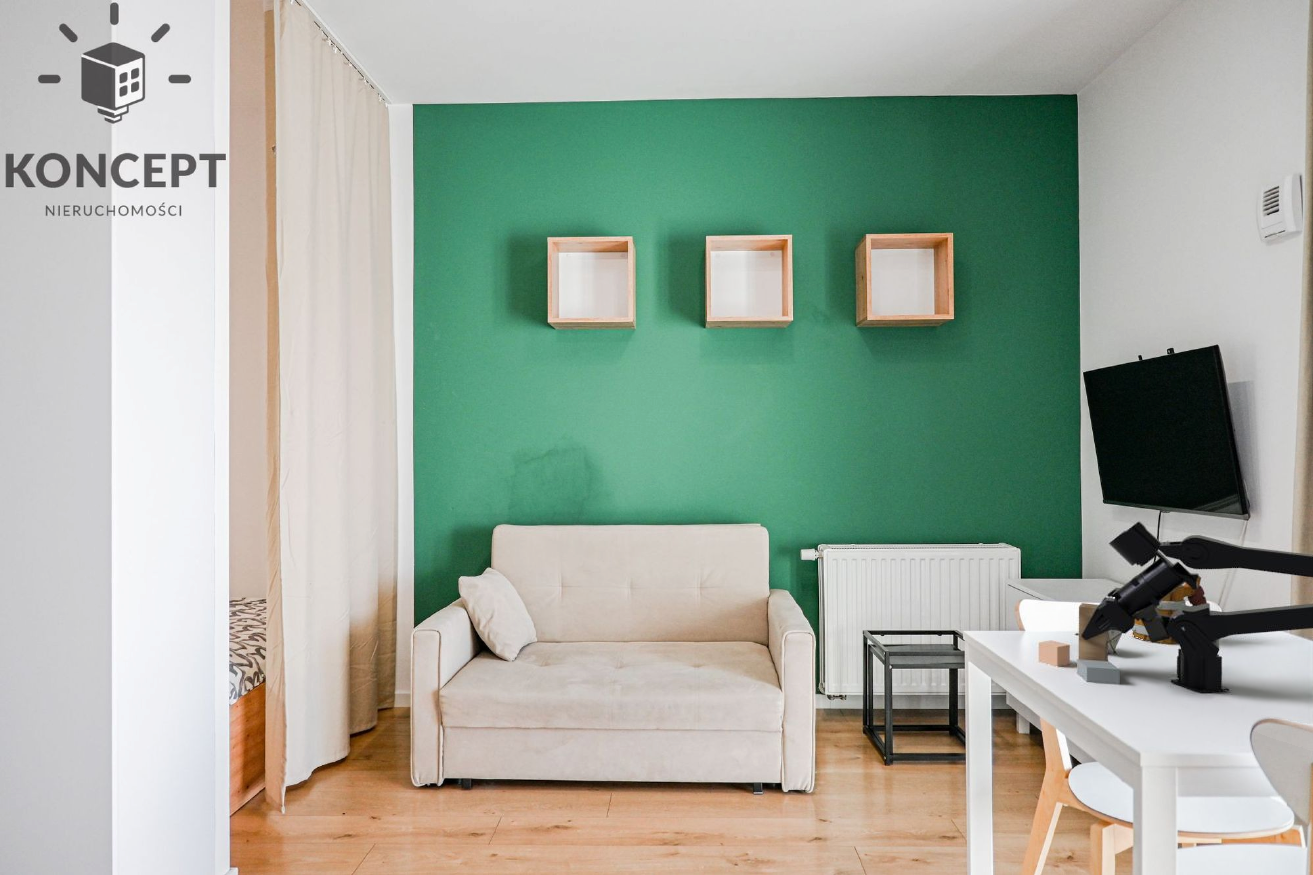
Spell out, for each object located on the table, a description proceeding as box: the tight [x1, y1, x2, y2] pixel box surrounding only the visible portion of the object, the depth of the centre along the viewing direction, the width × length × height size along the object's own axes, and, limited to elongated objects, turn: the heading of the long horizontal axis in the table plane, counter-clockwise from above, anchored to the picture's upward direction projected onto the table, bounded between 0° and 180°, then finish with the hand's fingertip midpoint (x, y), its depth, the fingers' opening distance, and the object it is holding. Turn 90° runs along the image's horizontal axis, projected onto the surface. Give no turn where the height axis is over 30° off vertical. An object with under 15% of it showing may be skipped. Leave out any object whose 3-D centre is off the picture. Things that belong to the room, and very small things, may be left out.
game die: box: [1074, 630, 1124, 655], centre depth 167 cm, size 9×8×10 cm
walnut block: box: [1078, 602, 1109, 661], centre depth 153 cm, size 4×4×12 cm
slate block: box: [1076, 658, 1121, 685], centre depth 147 cm, size 6×6×3 cm
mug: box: [1131, 575, 1208, 645], centre depth 180 cm, size 11×16×15 cm, turn 88°
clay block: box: [1038, 640, 1071, 667], centre depth 158 cm, size 4×4×4 cm
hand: (1085, 635), depth 153 cm, fingers open, 5 cm apart
